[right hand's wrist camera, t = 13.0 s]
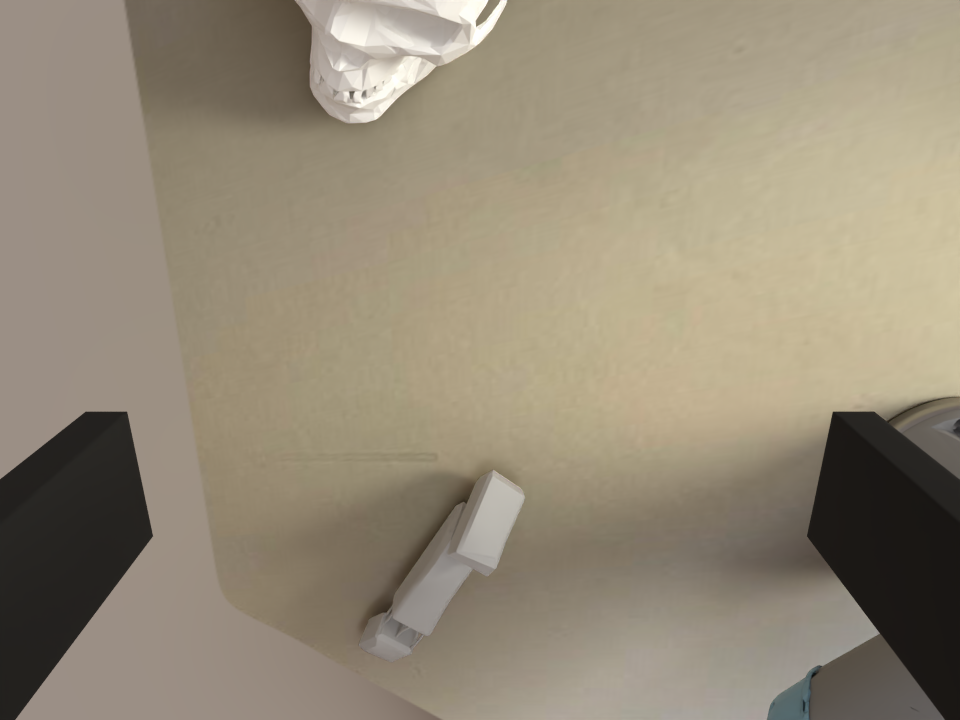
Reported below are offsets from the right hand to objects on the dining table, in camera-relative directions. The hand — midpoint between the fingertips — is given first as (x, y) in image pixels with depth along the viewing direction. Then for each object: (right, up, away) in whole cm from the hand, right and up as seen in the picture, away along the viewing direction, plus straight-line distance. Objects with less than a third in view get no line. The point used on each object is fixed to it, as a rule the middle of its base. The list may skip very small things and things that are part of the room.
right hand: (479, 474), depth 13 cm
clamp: (-3, -14, +43) cm, 46 cm away
